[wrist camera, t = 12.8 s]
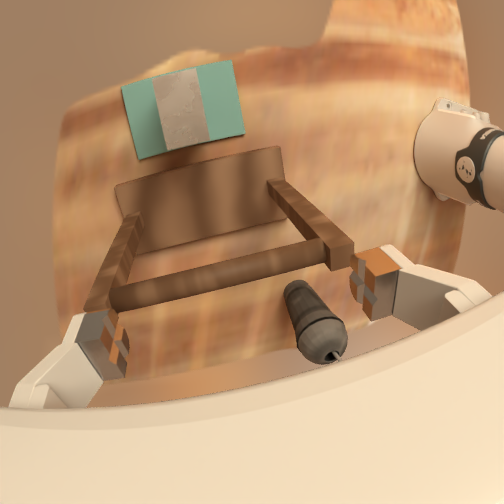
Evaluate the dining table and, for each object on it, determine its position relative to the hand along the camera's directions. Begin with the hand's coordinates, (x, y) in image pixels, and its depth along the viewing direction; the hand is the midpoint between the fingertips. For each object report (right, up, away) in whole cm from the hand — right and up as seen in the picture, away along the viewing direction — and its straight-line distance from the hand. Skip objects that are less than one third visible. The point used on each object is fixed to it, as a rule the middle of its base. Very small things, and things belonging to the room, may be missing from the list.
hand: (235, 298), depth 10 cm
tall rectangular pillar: (-8, +19, +24) cm, 32 cm away
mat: (-8, +19, +25) cm, 32 cm away
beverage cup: (+8, -5, +41) cm, 42 cm away
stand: (-6, +9, +31) cm, 33 cm away
